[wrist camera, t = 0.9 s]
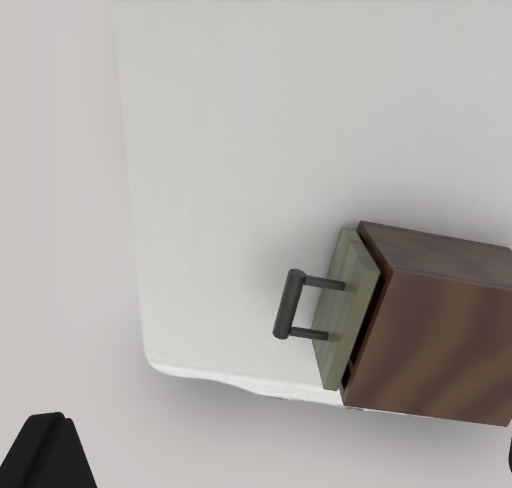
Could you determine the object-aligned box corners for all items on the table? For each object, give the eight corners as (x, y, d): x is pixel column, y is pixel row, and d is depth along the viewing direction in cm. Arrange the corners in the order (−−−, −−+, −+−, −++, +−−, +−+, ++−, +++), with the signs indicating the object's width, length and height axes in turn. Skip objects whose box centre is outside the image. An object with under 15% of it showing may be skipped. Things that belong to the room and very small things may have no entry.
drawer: (262, 325, 44) (267, 382, 36) (290, 217, 39) (302, 258, 32) (437, 351, 46) (474, 409, 39) (483, 252, 41) (534, 297, 34)
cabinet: (323, 334, 45) (343, 405, 37) (360, 220, 40) (394, 271, 32) (457, 354, 47) (507, 427, 38) (508, 247, 42) (580, 303, 33)
